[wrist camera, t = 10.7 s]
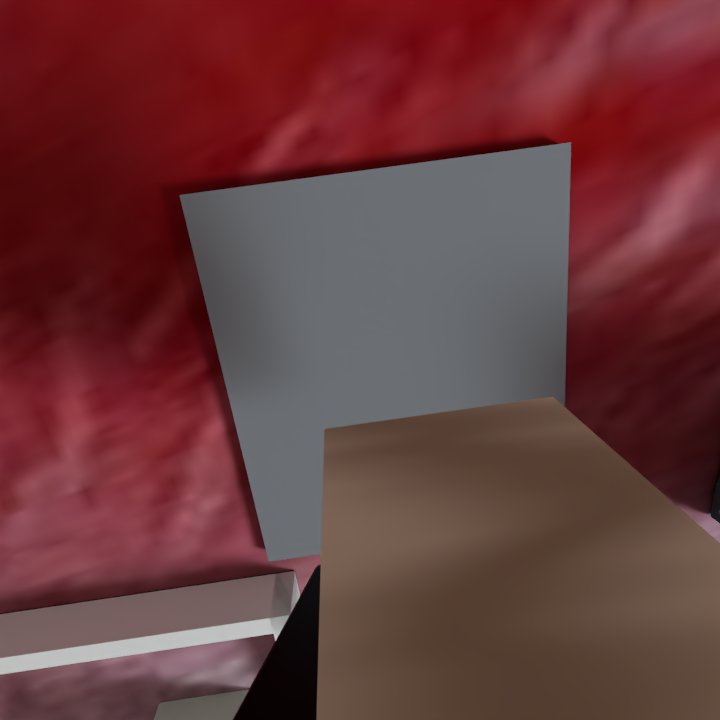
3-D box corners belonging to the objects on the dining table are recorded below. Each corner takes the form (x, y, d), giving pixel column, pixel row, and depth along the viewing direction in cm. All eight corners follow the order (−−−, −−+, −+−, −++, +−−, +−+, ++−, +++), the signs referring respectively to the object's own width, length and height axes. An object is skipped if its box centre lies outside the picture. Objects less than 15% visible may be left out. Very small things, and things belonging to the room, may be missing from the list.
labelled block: (553, 396, 9) (1213, 977, 2) (550, 581, 11) (940, 1257, 4) (324, 429, 9) (305, 1129, 2) (355, 610, 10) (399, 1350, 4)
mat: (555, 509, 19) (562, 518, 19) (270, 551, 19) (268, 561, 19) (561, 144, 15) (570, 142, 14) (185, 195, 14) (179, 195, 14)
